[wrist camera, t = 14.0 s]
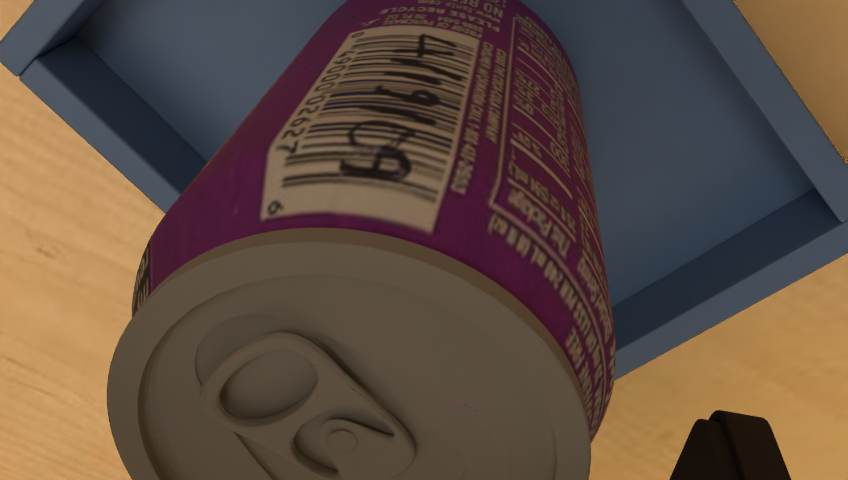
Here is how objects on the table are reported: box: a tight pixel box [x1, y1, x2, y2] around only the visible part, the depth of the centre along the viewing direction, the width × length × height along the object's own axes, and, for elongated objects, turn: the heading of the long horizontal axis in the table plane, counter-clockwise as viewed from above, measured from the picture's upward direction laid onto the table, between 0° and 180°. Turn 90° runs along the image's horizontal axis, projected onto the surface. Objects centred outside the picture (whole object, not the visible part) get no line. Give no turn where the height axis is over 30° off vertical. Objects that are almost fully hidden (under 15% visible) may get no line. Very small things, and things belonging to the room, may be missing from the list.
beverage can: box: [107, 0, 616, 480], centre depth 15 cm, size 7×7×12 cm
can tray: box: [0, 0, 848, 380], centre depth 20 cm, size 17×14×3 cm
